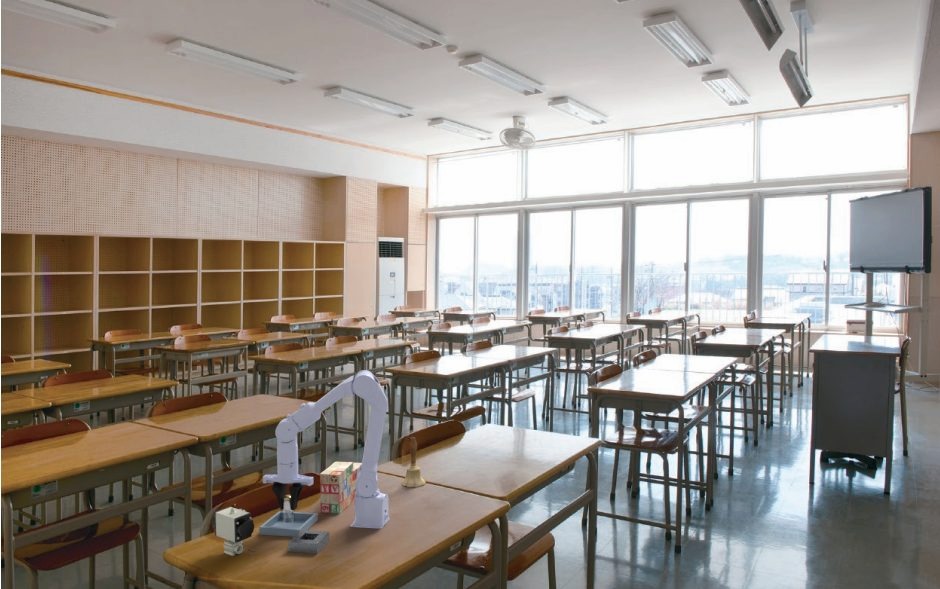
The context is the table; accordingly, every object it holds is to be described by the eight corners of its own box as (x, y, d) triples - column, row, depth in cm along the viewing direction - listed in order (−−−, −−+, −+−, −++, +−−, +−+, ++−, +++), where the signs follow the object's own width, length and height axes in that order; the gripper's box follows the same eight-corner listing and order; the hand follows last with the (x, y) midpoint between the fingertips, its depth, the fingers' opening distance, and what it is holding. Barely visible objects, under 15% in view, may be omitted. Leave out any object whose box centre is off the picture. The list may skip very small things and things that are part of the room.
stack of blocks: (346, 489, 219) (345, 453, 219) (364, 490, 218) (363, 453, 218) (320, 513, 198) (319, 473, 198) (340, 514, 197) (339, 474, 197)
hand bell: (404, 479, 229) (403, 434, 228) (427, 480, 228) (427, 434, 227) (398, 487, 221) (398, 440, 220) (422, 488, 220) (422, 441, 219)
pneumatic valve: (240, 562, 165) (239, 515, 165) (212, 551, 172) (210, 506, 171) (258, 554, 170) (257, 508, 169) (230, 544, 176) (228, 500, 176)
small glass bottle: (295, 520, 186) (295, 496, 186) (287, 523, 184) (287, 498, 184) (289, 517, 188) (289, 494, 188) (281, 521, 186) (280, 496, 185)
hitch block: (329, 542, 177) (329, 531, 177) (317, 555, 169) (317, 544, 169) (301, 540, 178) (301, 529, 178) (288, 553, 170) (288, 541, 170)
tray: (317, 521, 191) (317, 513, 191) (299, 538, 179) (299, 529, 179) (279, 519, 193) (279, 511, 193) (259, 536, 182) (259, 527, 181)
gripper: (317, 458, 188) (318, 504, 189) (270, 456, 191) (271, 502, 191) (307, 466, 181) (308, 514, 182) (258, 463, 184) (259, 511, 184)
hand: (288, 508), depth 186 cm, fingers closed on small glass bottle, 3 cm apart
